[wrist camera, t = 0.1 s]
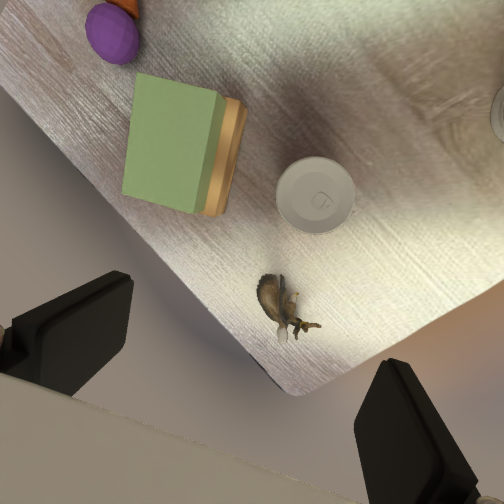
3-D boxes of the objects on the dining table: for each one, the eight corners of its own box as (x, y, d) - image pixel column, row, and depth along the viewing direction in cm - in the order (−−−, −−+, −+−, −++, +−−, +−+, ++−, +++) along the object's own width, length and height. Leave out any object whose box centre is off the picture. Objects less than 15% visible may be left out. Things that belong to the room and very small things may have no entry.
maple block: (163, 89, 38) (144, 76, 34) (248, 110, 37) (240, 100, 33) (148, 191, 42) (128, 192, 37) (224, 213, 41) (214, 217, 36)
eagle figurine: (330, 304, 41) (290, 261, 38) (315, 347, 36) (268, 301, 34) (292, 312, 46) (255, 275, 44) (275, 350, 42) (233, 311, 40)
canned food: (329, 228, 39) (339, 245, 29) (274, 210, 40) (264, 221, 29) (350, 173, 37) (370, 170, 27) (292, 155, 38) (289, 145, 27)
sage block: (155, 83, 34) (136, 71, 30) (226, 101, 33) (217, 91, 29) (139, 192, 37) (121, 193, 33) (204, 210, 36) (192, 214, 33)
